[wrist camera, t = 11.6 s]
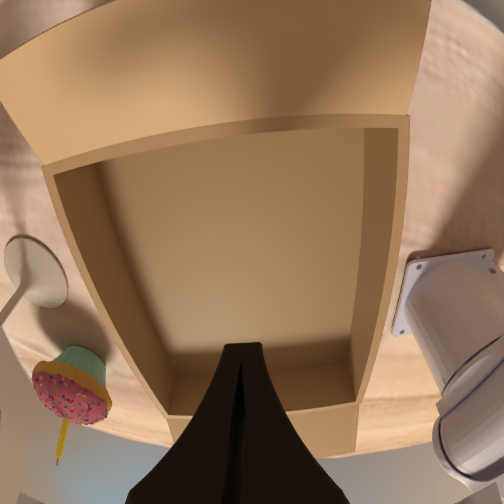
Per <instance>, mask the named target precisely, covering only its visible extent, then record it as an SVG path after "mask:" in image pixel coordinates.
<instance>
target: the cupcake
mask: <svg viewBox="0 0 504 504" xmlns="http://www.w3.org/2000/svg"><path fill="white" fill-rule="evenodd" d="M105 374H106V368H105V364H104V363H103V361H102V360H101V359H100V358H99V357H98V356H97V355H96V354H95V353H93V352H92V351H90V350H88V349H86V348H83V347H80V346H69V347H68V348H66V349H65V350H64V351H63V352H62V353H61V354H60V355H59V356H58V357H57V358H56V359H54V360H53V361H50V362H46V361H40V362H39V363H38V364H37V365H36V366H35V368H34V370H33V373H32V382H33V385H34V389H35V390H36V392H37V394H38V397H39V398H40V400H41V401H42V402H43V403H44V404H45V407H48V408H49V410H51V411H53V412H54V413H55V414H56V415H59V417H62V418H64V419H63V423H62V427H61V431H60V435H59V439H58V443H57V448H56V453H55V457H57V461H56V465H58V462H59V458H60V459H61V457H62V452H63V448H64V443H65V438H66V434H67V430H68V426H69V422H71V423H77V424H80V425H81V424H86V425H87V424H94V423H96V422H99V421H101V420H104V418H107V415H108V412H109V411H110V409H111V407H112V401H111V398H110V396H109V394H108V391H107V389H106V380H105Z"/></svg>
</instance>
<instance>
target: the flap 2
mask: <svg viewBox="0 0 504 504" xmlns="http://www.w3.org/2000/svg"><path fill="white" fill-rule="evenodd" d="M358 413H359V404H357V405H352V406H346V407H341V408H335V409H329V410H322V411H315V412H307V413H299V414H290V415H287V416H288V418H289V420H290V421H291V423H292V425H293V427H294V428H295V430H296V432H297V433H298V435H299V436H300V438H301V439H302V441H303V443H304V444H305V445H306V447H307V448H308V450H309V451H310V452H311V454H312V455H313V456H314V458H321V457H328V456H334V455H340V454H345V453H350V452H355V446H356V436H357V426H358ZM166 419H167V422H168V425H169V429H170V432H171V435H172V438H173V441H174V443H175V442H176V441H177V439H178V438H179V437H180V435H181V434H182V432H183V431H184V429H185V428H186V426H187V425H188V423H189V422H190V420H191V419H175V418H166Z"/></svg>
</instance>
